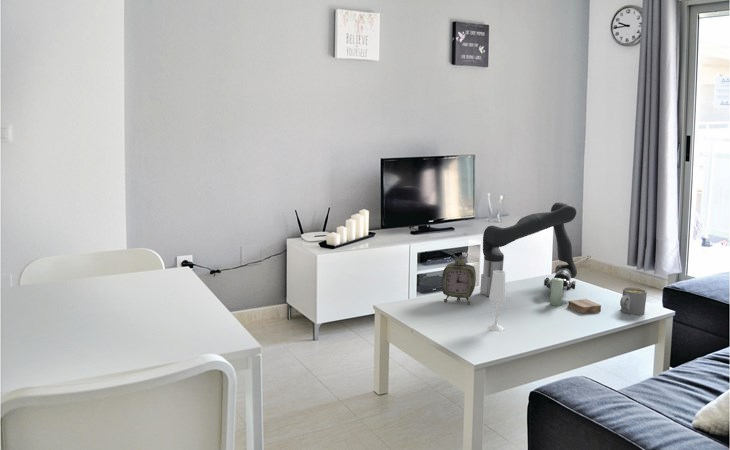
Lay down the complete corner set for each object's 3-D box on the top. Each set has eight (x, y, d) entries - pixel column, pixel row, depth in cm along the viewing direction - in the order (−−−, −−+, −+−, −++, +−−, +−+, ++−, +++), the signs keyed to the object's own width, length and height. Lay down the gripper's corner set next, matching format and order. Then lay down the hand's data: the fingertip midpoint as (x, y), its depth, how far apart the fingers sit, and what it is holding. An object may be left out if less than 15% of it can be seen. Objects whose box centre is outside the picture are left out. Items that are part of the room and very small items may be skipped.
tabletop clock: (440, 303, 305) (443, 250, 300) (444, 297, 314) (446, 245, 309) (472, 306, 301) (475, 253, 296) (474, 301, 310) (478, 248, 305)
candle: (554, 306, 304) (556, 279, 302) (547, 303, 309) (550, 276, 307) (563, 305, 306) (565, 278, 304) (556, 302, 311) (558, 276, 308)
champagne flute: (507, 329, 273) (511, 272, 268) (495, 332, 269) (499, 274, 264) (495, 324, 278) (498, 268, 274) (483, 327, 274) (487, 271, 270)
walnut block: (582, 313, 295) (583, 307, 295) (567, 307, 304) (568, 300, 304) (600, 311, 299) (601, 305, 298) (585, 305, 308) (586, 298, 307)
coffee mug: (633, 307, 307) (635, 286, 305) (649, 313, 298) (651, 292, 296) (609, 309, 302) (612, 288, 301) (625, 316, 293) (627, 294, 291)
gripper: (547, 269, 327) (543, 277, 313) (578, 273, 322) (574, 281, 307) (546, 284, 329) (541, 292, 314) (576, 288, 324) (573, 297, 309)
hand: (558, 287), depth 311 cm, fingers open, 8 cm apart
